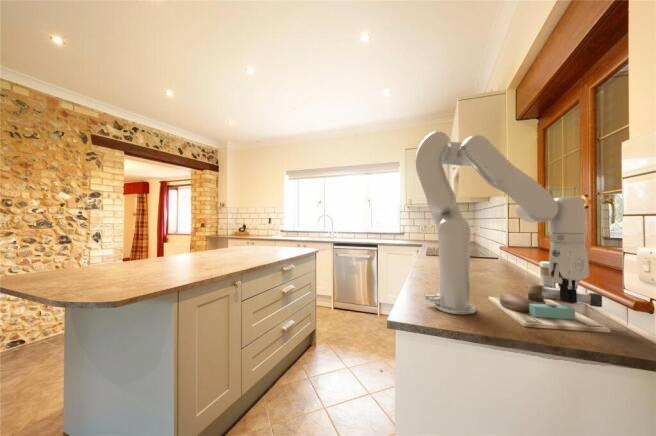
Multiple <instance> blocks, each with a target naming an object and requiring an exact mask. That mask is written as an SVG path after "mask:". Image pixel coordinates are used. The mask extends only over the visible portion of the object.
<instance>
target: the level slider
mask: <svg viewBox="0 0 656 436" xmlns="http://www.w3.org/2000/svg"><path fill="white" fill-rule="evenodd" d="M575 312H576V309H575V308H573V306H572V307H571V306H569V305H566V304H565V305H563V304H560V305H552V304H530V303H529V314H531V315H533V316H534V317H543V318H559V319H575Z"/></svg>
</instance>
